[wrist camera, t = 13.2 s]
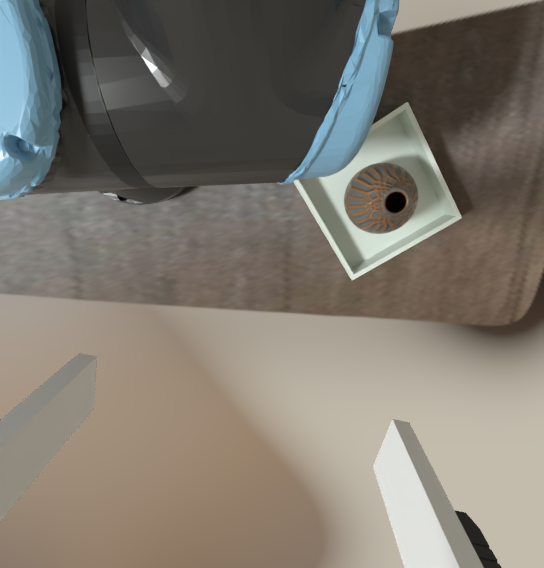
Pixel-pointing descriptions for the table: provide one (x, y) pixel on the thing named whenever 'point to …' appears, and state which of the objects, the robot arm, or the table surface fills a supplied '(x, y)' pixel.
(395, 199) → the vase
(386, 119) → the tray
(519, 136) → the table surface
